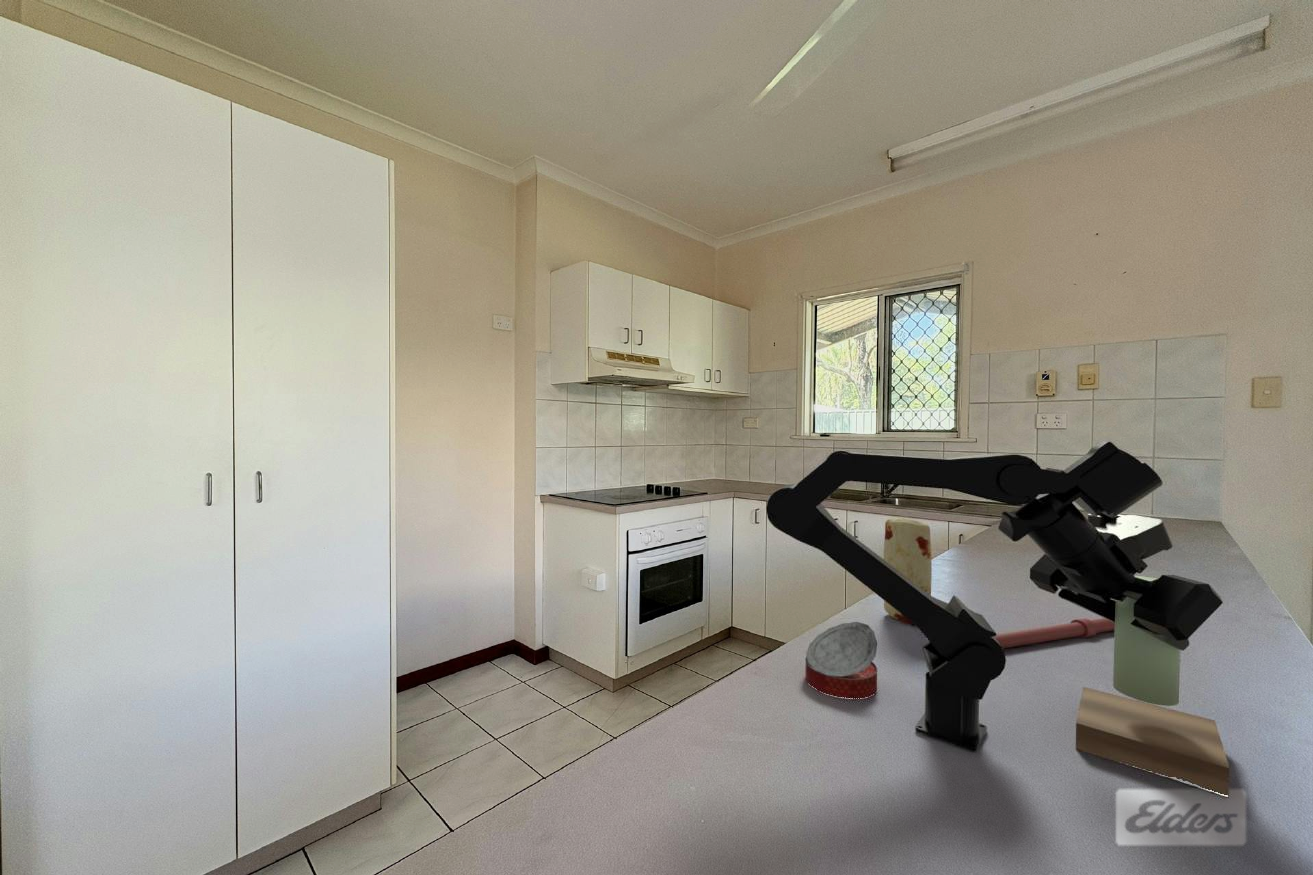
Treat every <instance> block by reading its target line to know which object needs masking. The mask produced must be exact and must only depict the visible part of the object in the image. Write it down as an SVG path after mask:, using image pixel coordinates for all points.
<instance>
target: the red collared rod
mask: <svg viewBox="0 0 1313 875" xmlns="http://www.w3.org/2000/svg"><path fill="white" fill-rule="evenodd" d="M1111 631H1115V623H1114V622H1112V621H1110V620H1108V619H1105V618H1103V617H1102V618H1096V619H1089V618H1079V619H1078V618H1077V619H1072V620H1071V621H1070V622H1068V623H1063V624H1056V625H1050V626H1042V627H1037V628H1030V629H1023V630H1017V631H1009V632H1003V633H996V634H997V635H996V636H994V637H995V639H996V640H997V641H998V643H999V644H1000V645H1001V647H1002V648H1003V649H1006V648H1007V649H1008V648H1013V647H1018V646H1019V647H1020V646H1023V645H1030V644H1037V643H1043V642H1049V641H1056V640H1062V639H1067V638H1073V637H1080V638H1083V639H1085V638H1089V637H1090V638H1091V637H1094V636H1095V635H1096V634H1097V633H1104V632H1111Z"/></svg>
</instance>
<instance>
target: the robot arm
mask: <svg viewBox="0 0 1313 875" xmlns="http://www.w3.org/2000/svg"><path fill="white" fill-rule="evenodd" d="M847 482H858V483H868V484H870V483H871V484H883V485H894V486H905V487H906V486H908V487H917V488H918V487H920V488H930V489H940V490H941V489H943V490H948V491H949V490H950V491H954V492H959V493H962V494H965V495H970V496H974V497H977V498H981V499H985V500H990V501H994V502H997V503H1002V504H1005V505H1011V506H1019V508H1017V509H1015V510H1013V511H1005V510H1004V511H1003V512H1001V517H1002V518H1001V520H1000V522H999V524H998V530H999V531H1000V532H1001V533H1002V534H1004V536H1006V537H1007V538H1008V539H1010V540H1011V541H1012V542H1018V541H1020V540H1021V539H1023V538H1024V537H1026V536H1028V537H1029V538H1030V539H1031V540H1032V541H1033V542H1034V543H1035V544H1036V545H1037V546H1038V547H1039V548H1040V550H1041V551H1042V552H1043V553H1044V554H1043V555H1042V556H1041V557H1040V558H1039V559H1038V560H1036V562H1035V563H1034V564H1033V565H1032V566H1031V567H1030V569H1029V579H1030V580H1031V581H1032V583H1033V584H1034V585H1035V586H1037V588H1038V589H1040V590H1042V591H1043V590H1044V591H1046V592H1048V593H1049V594H1050V593H1051V594H1053V595H1055V594H1056V593H1057V592H1058V591H1059V589H1060V591H1059V592H1058V594H1057V595H1058V597H1059V598H1060V599H1063V601H1064V600H1065V601H1067V602H1069V603H1071V604H1073V605H1076V606H1078V607H1079V608H1082V609H1084V610H1086V611H1088V612H1091V613H1093V614H1095V615H1097V616H1100V617H1102V618H1105V619H1108V620H1110V621H1112V622H1114V623H1115V601H1117V602H1123V601H1124V600H1125V599H1126V597H1128V598H1131V599H1134V600H1137V601H1136V602H1135V603H1134V612H1133V616H1134V617H1135V619H1134V620H1133V621H1132V623H1131V625H1133V626H1135V627H1137V628H1138V629H1140V630H1142V631H1144V632H1146V633H1148V634H1150V635H1152V636H1154V637H1156V638H1158V639H1160V640H1162V641H1164V642H1166V643H1168V644H1170V645H1172V646H1174V647H1176V648H1178V649H1180V651H1185V650H1186V649H1187V648H1188V647H1189V646H1190V640H1189V638H1191V636H1192V635H1193V634H1194V633H1195V632H1197V630H1198V629H1199V628H1200V627H1201V626H1202V625H1204V623H1205V622H1206V621H1207V620H1208V619H1209V618H1210V617H1211V616H1212V615H1213V614H1214V613H1215V612H1216V611H1217V610H1218V609H1219V607H1221V606H1222V605H1223V604H1224V601H1223V599H1222V598H1221V595H1219V593H1217V592H1216V590H1215V589H1214V588H1213V587H1212V586H1211V585H1210V584H1209V583H1206V582H1202V581H1198V580H1195V579H1190V578H1187V577H1183V576H1179V575H1176V574H1162V575H1161V576H1159V577H1158V578H1156V580H1153V581H1147V580H1144V579H1140V578H1137V577H1135V576H1136V574H1141V573H1143V571H1144V570H1146V569H1147V567H1148V564H1147V563H1146V562H1145V561H1144V560H1146V559H1148V558H1150V557H1152V556H1154V555H1156V554H1158V553H1161V552H1163V551H1168V550H1171V549H1172V548H1173V544H1172V543H1173V542H1172V541H1171V538H1170V536H1169V533H1168V531H1167V529H1166V526H1165V524H1164V521H1163V520H1162V519H1160V518H1154V517H1147V516H1142V515H1135V514H1126V515H1125V514H1121V513H1123V512H1124V511H1126V510H1127V509H1129V508H1130V507H1132V506H1134V505H1135V504H1137V503H1138V502H1139V501H1141V500H1142V499H1144V498H1146V497H1147V496H1148V495H1150V494H1152V493H1153V492H1154V491H1157V489H1159V488H1160V487H1162V486H1163V485H1164V484H1163V480H1162V479H1161V477H1160V476H1159V475H1158V473H1157V472H1156V471H1155V470H1154V469H1153V468H1152V467H1150V466H1149V464H1147V463H1146V462H1144V461H1140V460H1139V458H1138V459H1137V458H1136V457H1135V456H1134V455H1131V454H1130V453H1128V452H1126V451H1124V450H1122V449H1121V448H1119V447H1118V446H1116V445H1115V444H1114V443H1113V442H1112V441H1099V442H1098V443H1097V444H1095V445H1094V446H1092V448H1090V449H1089V450H1088V452H1087V453H1085V455H1083V456H1082V457H1080V458H1078V460H1076V461H1075V462H1073V463H1072V464H1070V465H1069V466H1068V467H1067V468H1065V469H1059V468H1052V467H1046V468H1041V466H1040V465H1039V464H1038V463H1037V462H1036V461H1035V460H1033V458H1031V457H1029V456H1026V455H1021V454H1015V453H1006V452H1005V453H1004V452H997V453H996V452H995V453H986V454H984V453H983V454H974V455H973V454H972V455H964V456H955V457H946V458H945V457H944V458H943V457H940V458H939V457H925V456H914V455H913V456H912V455H911V456H909V455H899V454H898V455H896V454H882V453H881V454H879V453H864V452H852V451H847V450H844V449H838V450H835V451H833V452H831V453H830V454H829V455H828V456H827V457H826V459H825V460H824V461H823V462H822V463H821V464H819V465H818V466H817V467H816V468H815V469H814V470H812V471H811V472H810V473H809V474H807V475H806V476H804V477H803V478H802V479H801V480H800V481H799V482H798V483H789V484H785V485H783V486H780V487H779V488H778V489H777V490H775V492H774V493H772V494H771V495H770V497H769V498H768V501H767V502H766V508H765V509H766V517H767V519H768V521H769V523H770V524H771V525H772V527H774V528H775V529H776V530H778V531H780V532H782V533H784V534H786V535H787V536H789V537H790V538H792V539H794V540H796V541H798V542H801V543H802V544H804V545H807V546H809V547H810V546H811V547H812V548H815V549H817V550H818V551H821V552H822V553H824V554H825V555H826V556H828V557H829V558H830V559H831V560H832V561H834V562H835V563H836V564H838V565H839V566H840V567H841V568H843V569H844V570H845V571H847V573H849V574H850V575H851V576H853V577H854V578H856V580H858V581H860V583H862V585H864V586H865V587H867V589H868V588H869V590H870V591H872V592H873V593H874V594H876V595H877V596H878V597H879V598H881V599H882V600H883V601H884V600H885V601H886V602H887V603H888V604H890V605H891V606H892V607H893V608H895V609H896V610H897V611H898V612H900V613H901V614H902V615H904V616H905V617H906V618H907V619H909V620H910V621H911V622H912V623H914V624H915V625H914V626H915V627H916V628H918V629H919V631H920V632H921V633H922V634H923V635H924V637H925V638H926V639H927V640H928V642H926V643H925V644H924V645H922V647H921V648H920V651H921V655H922V656H923V660H924V662H925V664H926V668H927V672H926V673H925V677H924V678H925V682H924V685H925V686H924V688H925V690H924V691H925V692H924V695H925V696H924V714H923V715H922V716H921V718H920V719H919V720H918V721H917V723H916V724H915V727H914V730H915V731H916V732H917V733H920V734H923V735H924V736H928V737H932V738H933V739H936V738H937V740H940V741H942V742H945V743H947V742H948V744H951V745H954V746H956V747H959V748H962V749H964V750H967V751H970V752H972V753H973V752H975V753H976V752H977V751H978V749H979V748H980V745H981V743H982V742H983V740H984V737H985V735H986V733H987V731H988V730H987V729H988V726H986V725H985V724H982V723H981V722H979V721H980V700H983V698H984V696H985V695H986V692H987V690H988V688H989V686H990V683H991V681H994V680H995V679H997V678H998V677H999V676H1000V675H1001V674H1002V673H1003V671H1004V669H1005V667H1006V663H1007V657H1006V652H1005V650H1004V648H1002V647H1001V645H1000V644H999V643H998V641H997V640H996V639H995V637H994V636H996V635H997V634H998V633H997V632H996V631H995V630H994V629H993V627H992V626H991V625H990V623H989V622H988V621H987V619H985V617H984V616H983V614H981V613H978V612H975V611H974V610H971V609H970V608H968V606H966V605H965V603H963V602H962V600H960V599H959V597H957V596H956V595H952V597H951V598H950V601H949V602H948V603H947V602H945V601H943V600H941V599H938V598H936V597H934V596H933V595H929V594H928V593H927V592H925V591H924V590H923V589H921V588H920V587H919V586H918V585H916V584H915V583H914V582H912V581H911V580H910V579H908V578H907V577H906V576H904V575H903V574H902V573H901V572H899V571H898V570H897V569H895V568H894V567H893V566H891V565H890V564H889V563H888V562H886V561H885V560H884V559H883V557H881V556H880V555H879V554H877V553H876V552H874V551H873V550H872V549H870V548H869V547H868V546H867V545H866V544H864V543H862V542H861V541H860V540H859V539H857V538H856V537H855V536H853V535H852V534H851V533H850V532H848V531H847V529H844V528H843V527H842V526H841V525H840V524H839V523H838V522H837V521H836V520H835V518H833V516H832V514H831V513H830V512H829V511H828V509H826V508H825V506H824V505H823V504H822V503H823V502H824V501H825V500H827V498H829V497H830V496H831V495H832V494H833V493H834V492H835V491H837V490H838V489H839V488H840V487H841V486H842V485H844V484H845V483H847ZM1040 495H1043V496H1041V497H1038V496H1040ZM1037 497H1038V498H1037ZM1074 503H1075V504H1077V506H1079V507H1080V508H1081V509H1082V510H1084V511H1085V512H1086V513H1088V514H1087V516H1088V517H1086V516H1085V515H1084V514H1083V513H1082V511H1081V510H1080V509H1078V507H1077V506H1076V505H1075V504H1074Z"/></svg>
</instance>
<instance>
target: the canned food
mask: <svg viewBox="0 0 1313 875" xmlns="http://www.w3.org/2000/svg"><path fill="white" fill-rule="evenodd" d="M877 648H878V640H877V638H876V633H875V631H874V630H873V629H872V628H871V626H870V625H869V624H866V623H863V622H859V621H853V622H846V623H845V622H843V623H840V624H838V625H836V626H835V625H834V626H832V627H828V628H827V629H825V631H823V632H822V633H820V634H817V635H816V637H814V639H813V640H812V641H811V642H810V643H809V645H808V648H807V650H806V652H805V659H804V660H805V666H804V667H805V669H804V670H805V674H804V675H805V676H804V677H806V679H805V681H806V680H807V682H808V683H809V684H810V685H811V686H813V687H814V688H816V689H817V690H818V691H821V692H823V693H826V694H829V695H833V696H837V697H844V698H845V697H846V698H853V699H854V698H855V699H856V698H857V699H858V698H859V699H860V698H865V697H869V696H871V695H873V694H875V693H876V694H877V692H876V691H878V668H877V665H876V664H875V663H874V662H873V661H874V659H875V657H876V656H877V650H878V649H877ZM807 682H806V683H807ZM818 691H817V692H818ZM876 694H875V695H876ZM873 696H874V695H873Z"/></svg>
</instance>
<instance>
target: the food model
mask: <svg viewBox="0 0 1313 875" xmlns="http://www.w3.org/2000/svg"><path fill="white" fill-rule="evenodd" d="M884 522H885V525H884V526H885V527H884V532H885V533H884V540H883V541H884V542H883V554H882V555H883V557H882V559H884V560H885V561H886V562H888V563H889V564H890V565H891V566H893V567H894V568H895V569H897V570H898V571H899V572H901V573H902V574H903V575H904V576H906V577H907V578H908V579H910V580H911V581H912V582H914V583H915V584H916V585H918V586H919V587H920V588H921V589H923V590H924V591H925V592H927V593H928V594H929V595H931V594H932V575H933V574H932V571H933V570H932V569H933V568H932V542H931V541H932V540H931V538H932V537H931V529H930V528H931V527H930V526H929V524H926V523H924V522H922V521H917V520H915V519H910V518H909V519H908V518H905V517H896V518H889V519H887V520H885V521H884ZM931 596H932V595H931ZM883 608H884V611H885V612H886V613H887V614H888V615H889V616H890V617H892V618H893V619H896V620H898V621H900V622H903V623H905V624H909V625H911V626H916V625H915V624H914V623H912V622H911V621H910V620H909V619H907V618H906V617H905V616H904V615H902V614H901V613H900V612H898V611H897V610H896V609H895V608H893V607H892V606H891V605H890V604H888V603H887V602H886V601H885V600H883Z"/></svg>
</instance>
